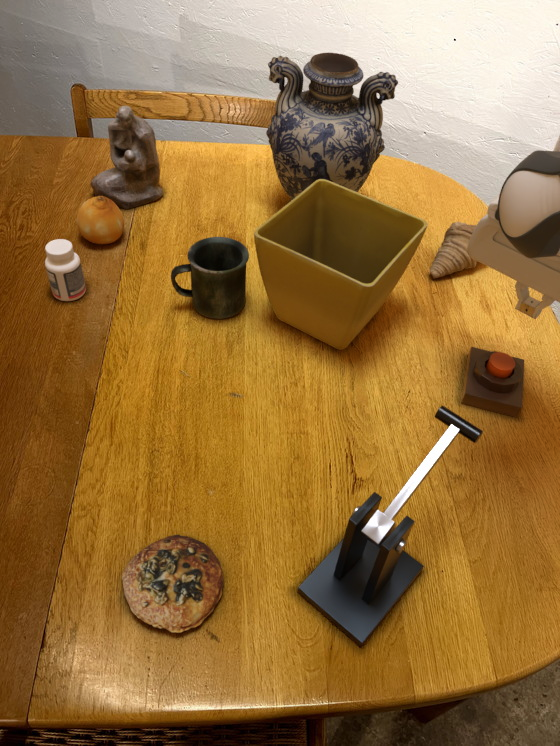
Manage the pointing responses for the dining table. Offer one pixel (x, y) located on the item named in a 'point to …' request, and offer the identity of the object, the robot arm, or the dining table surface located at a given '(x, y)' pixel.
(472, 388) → the button block
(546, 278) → the robot arm
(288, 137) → the decorative vase
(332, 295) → the flower pot
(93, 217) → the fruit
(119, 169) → the figurine
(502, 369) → the button
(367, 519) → the bracket
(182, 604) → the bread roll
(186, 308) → the dining table surface
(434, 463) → the lever
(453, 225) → the seashell
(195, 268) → the mug
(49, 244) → the pill bottle
